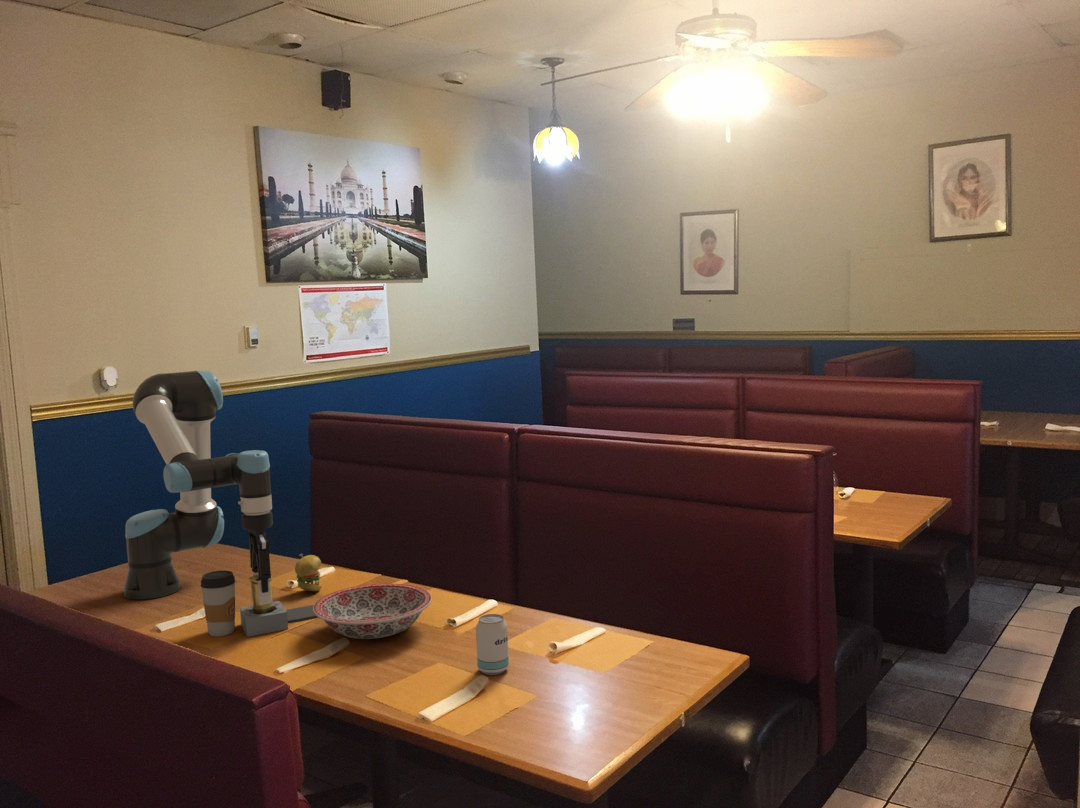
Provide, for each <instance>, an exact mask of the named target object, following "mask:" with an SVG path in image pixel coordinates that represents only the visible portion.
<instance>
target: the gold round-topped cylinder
mask: <svg viewBox="0 0 1080 808" xmlns="http://www.w3.org/2000/svg"><path fill="white" fill-rule="evenodd" d="M258 577H259V576H258V574H257V575H253V574H252V575H251V576H249V583H250V588H251V603H252V604H251V606H253V614H259V615H260V614H266V613H271V612H273V602H274V600H273V585H272V581H273V575H272V574H271V578H269V583H270V599H271V603H270V604H264V605H259V593H258V581H256V579H257V578H258Z"/></svg>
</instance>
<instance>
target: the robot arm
mask: <svg viewBox="0 0 1080 808" xmlns="http://www.w3.org/2000/svg"><path fill="white" fill-rule="evenodd" d="M223 404H224V395H223V390H222V387H221V384H220V381H219V380H218V378H217V376H216V375H215V374H214V373H213V372H211V371H210V370H202V371H201V370H194V371H193V370H191V371H182V372H181V371H180V372H170V373H169V372H168V373H157V374H154V375H151V376H149V377H147V378H146V379H144V380H143V381H142V382H141V383H140V384H139V385H138V387H137V388H136V390H135V391H134V393H133V398H132V409H133V413H134V416H136V418H137V420H138V421H139V422H140V423H142V424H143V425H145V427H146V428H147V431H148V433H149V434H150V436H151V438H152V440H153V442H154V443H155V446H156V447H157V449H158V452H159V454H160V455H161V457H162V459H163V461H164V462H165V464H166V465H165V466H164V469H163V474H162V475H163V482H164V486H165V488H166V490H167V491H168V492H169V493H172V494H177V493H179V494H180V499H179V500H178V501H177V502H176V503H175V506H174V509H175V510H174V512H168V509H165V508H164V509H163V508H158V509H151V510H147V511H142V512H140V513H137V514H135V515H134V514H133V516H131V517H129V518H128V519H127V520H126V523H125V534H124V535H125V536H124V537H125V541H126V553H127V554H126V555H127V563H128V564H127V566H128V571H127V574H126V578H125V581H124V585H123V595H124V598H126V599H130V600H150V599H157V598H162V597H166V596H170V595H172V594H175V593H176V592H178V591H179V590H180V589H181V580H180V578H179V576H178V573H177V571H176V569H175V567H174V565H173V562H172V560H173V559H172V554H173V553H178V552H184V551H189V550H194V549H201V548H203V549H204V548H206V547H210V546H214V545H216V544H218V543H219V542H220V540H221V539H222V537H223V535H224V530H225V519H224V512H223V510H222V508H221V507H220V506H218V505H217V502H216V501H215V500H214V499H213V498H212V489H213V488H220V487H226V486H227V487H228V486H233V485H238V487H239V497H240V500H239V501H238V502H237V504H238V505H240V512H242V514H241V515H240V516H241V518H240V519H241V527H242V529H243V530H247V534H248V543H249V544H248V545H249V560H250V561H249V562H250V565H249V567H250V568H251V572H252V576H253V575H257V574H258V576H259V577H258V578H257V579H256V581H258V593H259V605H264V604H270V603H271V599H270V583H269V578H271V575H272V574H271V562H270V561H271V560H270V546H269V545H270V541H269V536H268V534H267V533H266V531H265V530H266V529H269V528H271V527H272V526H273V524H274V522H273V512H272V509H273V500H272V498H273V497H272V489H271V488H272V487H271V470H270V468H271V464H270V458H269V454H268V453H269V452H267V451H265V450H259V449H253V450H244V451H241V452H240V453H239V452H237V453H235V452H231V453H227V454H226V455H225V456H219V457H211V456H212V455H211V453H212V452H211V422H213V420H215V419H216V417H217V416H216V411H219V410H221V409H222V408H223Z"/></svg>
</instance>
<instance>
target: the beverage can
mask: <svg viewBox="0 0 1080 808" xmlns="http://www.w3.org/2000/svg"><path fill="white" fill-rule="evenodd" d="M508 630H509V629H508V624H507V622H506V620H505V617H504V615H502V614H499V613H488V614H483V615H481V616H480V617H478V621H477V624H476V625H475V635H476V637H475V638H476V660H477V661H476V663H477V669H478V670H479V671H480V672H482V673H483V674H485V675H488V676H497V675H500V674H502V673H504V672H505V671H506V670H507V669H508V668H509V666H510V665H509V663H510V659H509V638H508V637H509V634H508V633H509V632H508Z"/></svg>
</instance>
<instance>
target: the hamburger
mask: <svg viewBox="0 0 1080 808" xmlns="http://www.w3.org/2000/svg"><path fill="white" fill-rule="evenodd" d="M303 555H304V554H303V553H300V554H299V556H300V557H301V558H300V559H299V560H298V561H297V562H296V563H295V566H294V572H295V574H296V579H297V580H296V582H297V586H298V588H299V589H300V590H304V591H306V592H307V591H308V592H319V591H321V589H322V585H320V579H321V577H320V576H321V572H320V571H319V570H320V568H321V566H322V561H321V559H320V557H319V556H316V555H315V554H314V555H313V554H307V555H305V556H303ZM314 582H315V583H314Z"/></svg>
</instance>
